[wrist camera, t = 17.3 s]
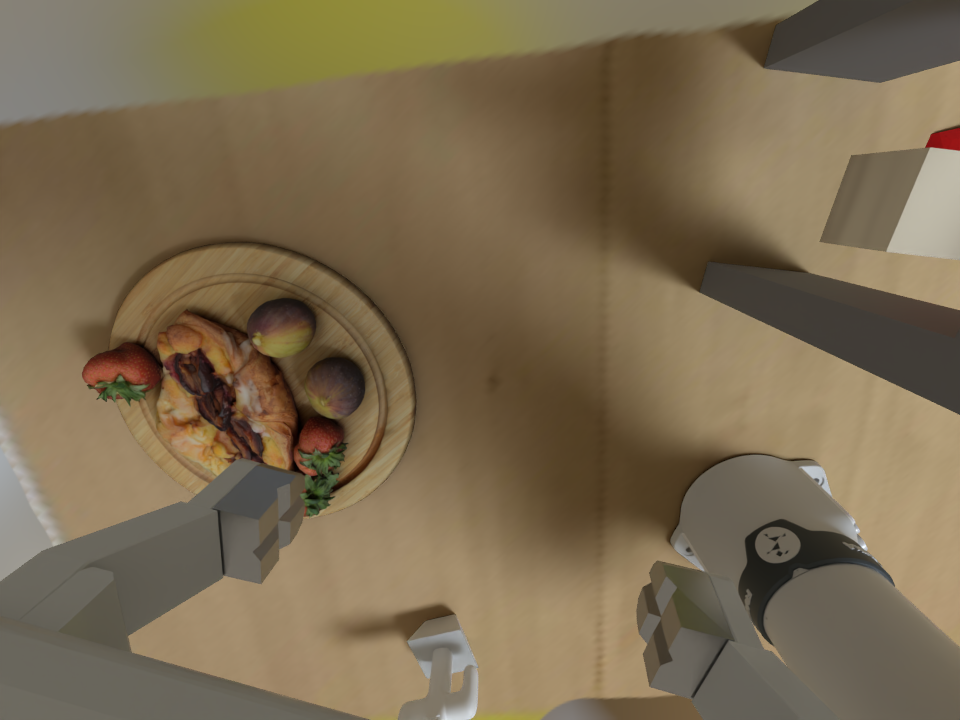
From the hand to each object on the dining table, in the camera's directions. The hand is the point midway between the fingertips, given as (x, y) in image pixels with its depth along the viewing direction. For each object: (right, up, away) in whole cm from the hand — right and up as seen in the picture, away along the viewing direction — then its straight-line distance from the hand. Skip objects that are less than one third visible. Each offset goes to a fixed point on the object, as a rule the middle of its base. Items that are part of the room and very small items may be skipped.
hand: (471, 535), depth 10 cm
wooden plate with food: (-23, +1, +39) cm, 45 cm away
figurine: (-4, -33, +51) cm, 60 cm away
